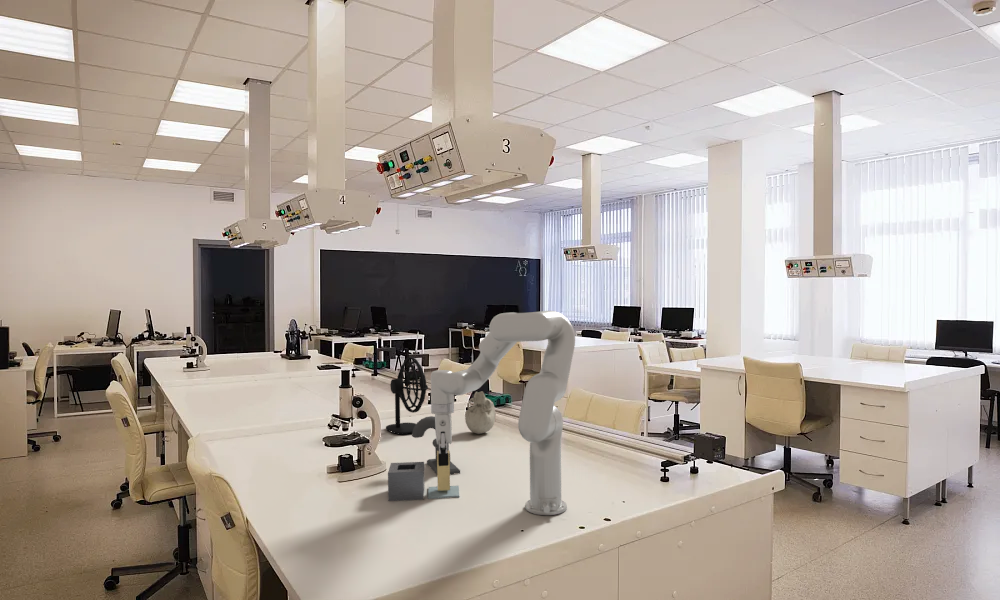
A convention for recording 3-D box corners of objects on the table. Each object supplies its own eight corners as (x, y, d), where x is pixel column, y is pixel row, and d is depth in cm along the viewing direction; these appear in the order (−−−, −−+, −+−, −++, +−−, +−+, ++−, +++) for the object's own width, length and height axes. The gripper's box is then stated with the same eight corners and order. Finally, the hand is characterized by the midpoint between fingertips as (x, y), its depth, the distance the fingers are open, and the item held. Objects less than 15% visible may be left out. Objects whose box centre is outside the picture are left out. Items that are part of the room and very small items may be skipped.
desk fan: (435, 433, 281) (434, 358, 281) (400, 438, 272) (399, 361, 271) (412, 422, 304) (411, 354, 304) (379, 427, 295) (378, 356, 294)
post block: (423, 499, 191) (422, 471, 191) (388, 501, 190) (387, 472, 190) (424, 488, 202) (424, 461, 202) (391, 489, 201) (391, 462, 201)
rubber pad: (459, 497, 192) (459, 495, 192) (428, 498, 192) (427, 496, 192) (458, 487, 202) (458, 485, 202) (428, 488, 202) (428, 486, 202)
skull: (462, 436, 275) (462, 392, 275) (473, 428, 289) (472, 387, 289) (488, 437, 271) (488, 393, 271) (498, 430, 285) (498, 388, 285)
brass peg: (450, 490, 195) (449, 453, 195) (437, 490, 195) (437, 454, 195) (449, 486, 199) (449, 450, 199) (437, 486, 199) (437, 450, 199)
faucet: (407, 465, 229) (406, 413, 229) (447, 460, 235) (446, 410, 235) (418, 479, 212) (417, 422, 212) (460, 473, 218) (459, 419, 218)
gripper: (454, 412, 189) (455, 470, 189) (453, 402, 205) (454, 456, 206) (430, 413, 188) (431, 471, 188) (431, 403, 205) (432, 456, 205)
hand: (443, 462), depth 197 cm, fingers open, 4 cm apart
